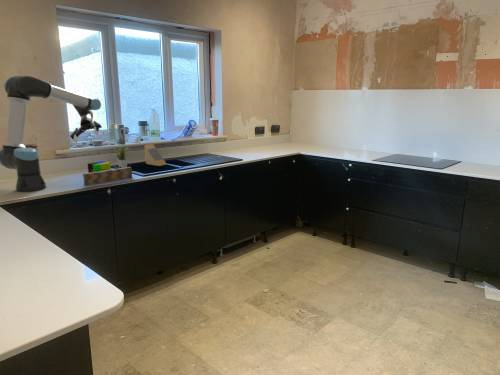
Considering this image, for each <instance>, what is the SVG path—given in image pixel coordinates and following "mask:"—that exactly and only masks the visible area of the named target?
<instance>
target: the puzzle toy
mask: <svg viewBox="0 0 500 375" xmlns="http://www.w3.org/2000/svg"><path fill="white" fill-rule="evenodd" d="M111 167H112V166H111V162H107V161H96V162H94V161H93V162H88V163H87V170H88V171H87V173H92V172H98V171H105V170H112V168H111Z"/></svg>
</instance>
